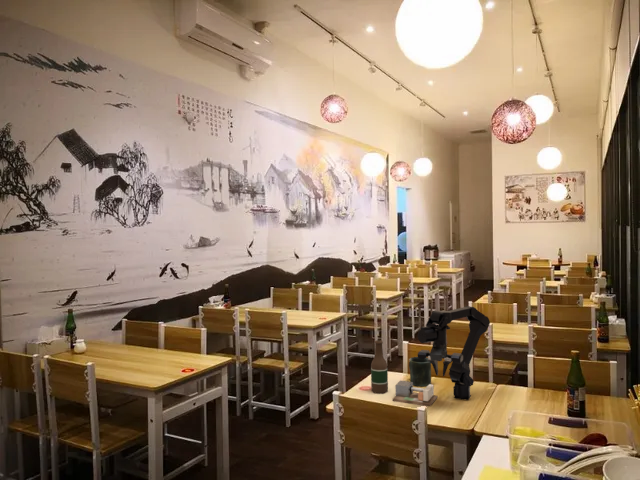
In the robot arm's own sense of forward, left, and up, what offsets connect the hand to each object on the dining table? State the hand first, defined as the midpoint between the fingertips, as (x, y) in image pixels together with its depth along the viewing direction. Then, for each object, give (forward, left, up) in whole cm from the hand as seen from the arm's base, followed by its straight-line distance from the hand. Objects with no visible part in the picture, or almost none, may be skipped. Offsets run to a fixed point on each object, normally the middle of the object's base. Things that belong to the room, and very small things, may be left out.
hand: (440, 375), depth 219 cm
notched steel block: (+17, -2, -11) cm, 20 cm away
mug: (+17, -24, -12) cm, 32 cm away
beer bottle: (+30, -4, -12) cm, 33 cm away
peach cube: (+8, +3, -11) cm, 14 cm away
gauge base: (+11, 0, -12) cm, 17 cm away
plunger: (+9, 0, -11) cm, 14 cm away
